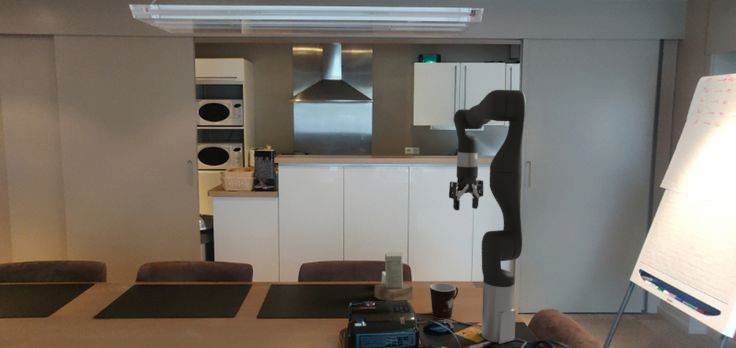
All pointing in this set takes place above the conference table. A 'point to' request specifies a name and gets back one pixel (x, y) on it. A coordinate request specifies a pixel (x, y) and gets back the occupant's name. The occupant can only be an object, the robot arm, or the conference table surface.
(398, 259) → the skincare box
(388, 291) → the walnut block
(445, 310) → the coffee mug
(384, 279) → the white cube
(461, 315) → the conference table surface
